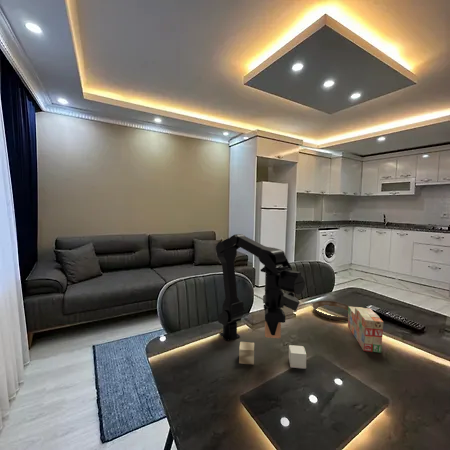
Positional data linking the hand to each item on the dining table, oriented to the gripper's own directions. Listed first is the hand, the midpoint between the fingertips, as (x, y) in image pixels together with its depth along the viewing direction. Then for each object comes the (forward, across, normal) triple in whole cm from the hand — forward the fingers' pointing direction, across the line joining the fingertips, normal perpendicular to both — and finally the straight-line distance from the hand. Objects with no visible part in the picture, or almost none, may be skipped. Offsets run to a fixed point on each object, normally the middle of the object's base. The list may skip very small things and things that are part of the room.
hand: (272, 331), depth 86 cm
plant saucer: (+11, +46, -34) cm, 59 cm away
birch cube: (+11, 0, +9) cm, 14 cm away
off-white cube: (+11, 0, -9) cm, 14 cm away
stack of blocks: (+11, +22, -39) cm, 46 cm away
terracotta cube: (+1, 0, 0) cm, 1 cm away
